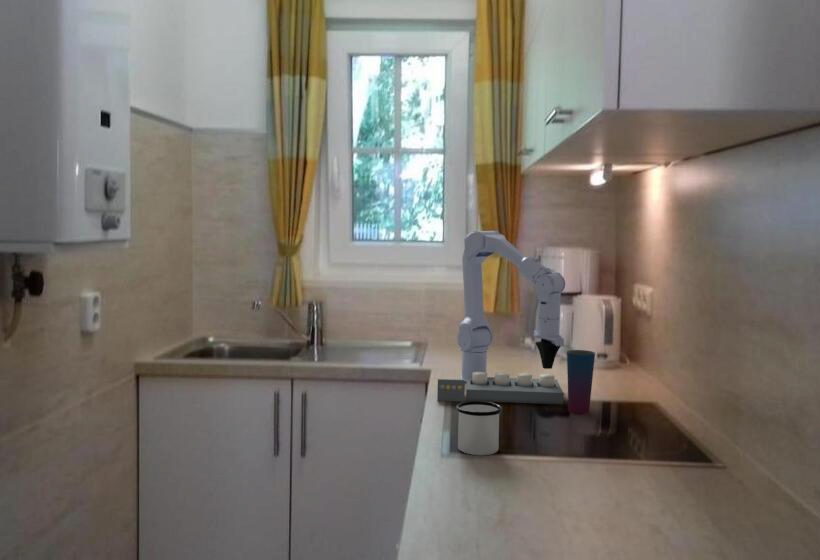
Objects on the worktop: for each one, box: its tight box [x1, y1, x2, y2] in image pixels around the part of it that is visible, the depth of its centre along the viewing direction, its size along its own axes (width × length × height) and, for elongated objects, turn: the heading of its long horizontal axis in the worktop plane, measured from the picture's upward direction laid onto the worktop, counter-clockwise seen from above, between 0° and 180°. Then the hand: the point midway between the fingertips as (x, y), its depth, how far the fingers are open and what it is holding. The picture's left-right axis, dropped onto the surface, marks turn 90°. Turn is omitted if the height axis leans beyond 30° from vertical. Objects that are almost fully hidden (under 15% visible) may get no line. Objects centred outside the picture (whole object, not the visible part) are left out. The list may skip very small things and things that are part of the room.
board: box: [465, 376, 564, 405], centre depth 203 cm, size 16×25×3 cm, turn 85°
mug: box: [455, 401, 503, 457], centre depth 156 cm, size 12×10×9 cm
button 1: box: [472, 372, 488, 385], centre depth 204 cm, size 4×4×3 cm
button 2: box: [494, 372, 511, 386], centre depth 204 cm, size 4×4×3 cm
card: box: [436, 378, 466, 402], centre depth 196 cm, size 1×7×6 cm, turn 86°
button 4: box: [538, 373, 555, 387], centre depth 203 cm, size 4×4×3 cm
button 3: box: [516, 372, 533, 387], centre depth 203 cm, size 4×4×3 cm
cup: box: [566, 349, 596, 415], centre depth 186 cm, size 7×7×15 cm
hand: (547, 368), depth 202 cm, fingers closed
